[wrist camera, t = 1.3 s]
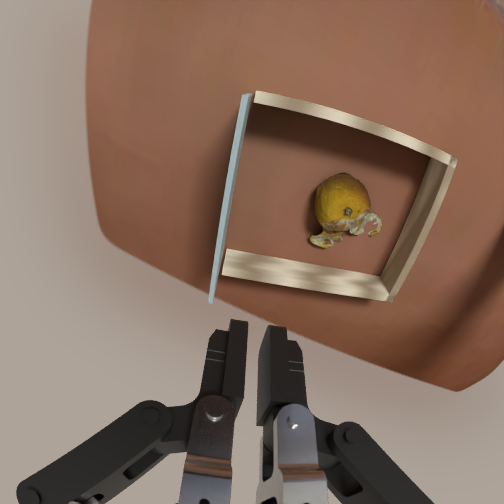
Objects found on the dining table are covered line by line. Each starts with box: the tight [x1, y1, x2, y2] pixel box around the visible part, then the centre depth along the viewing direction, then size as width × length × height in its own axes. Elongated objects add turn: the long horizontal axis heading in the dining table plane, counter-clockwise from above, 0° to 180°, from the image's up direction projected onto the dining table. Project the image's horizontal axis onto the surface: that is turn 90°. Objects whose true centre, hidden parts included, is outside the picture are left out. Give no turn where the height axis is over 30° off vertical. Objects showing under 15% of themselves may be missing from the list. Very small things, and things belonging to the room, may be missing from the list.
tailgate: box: [208, 93, 253, 304], centre depth 24 cm, size 1×17×8 cm, turn 169°
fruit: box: [310, 173, 382, 248], centre depth 28 cm, size 8×8×4 cm
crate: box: [222, 91, 458, 302], centre depth 27 cm, size 20×18×4 cm
